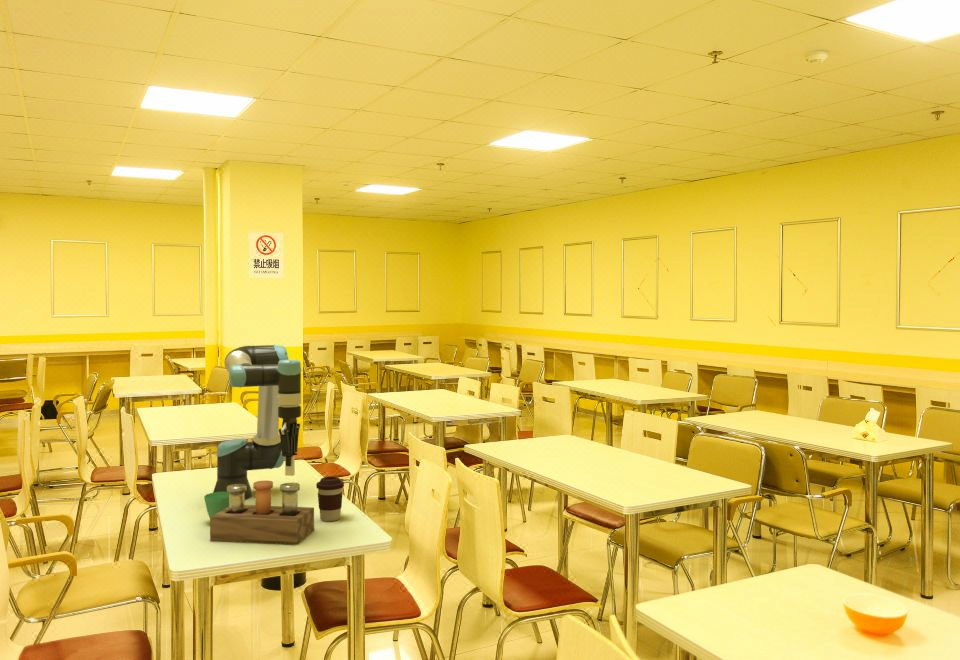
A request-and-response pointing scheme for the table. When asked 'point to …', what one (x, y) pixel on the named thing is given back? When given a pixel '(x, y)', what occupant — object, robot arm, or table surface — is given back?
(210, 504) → the mug
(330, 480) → the coffee cup
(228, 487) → the plunger
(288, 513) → the plunger
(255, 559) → the table surface
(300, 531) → the brown wooden block
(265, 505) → the plunger
